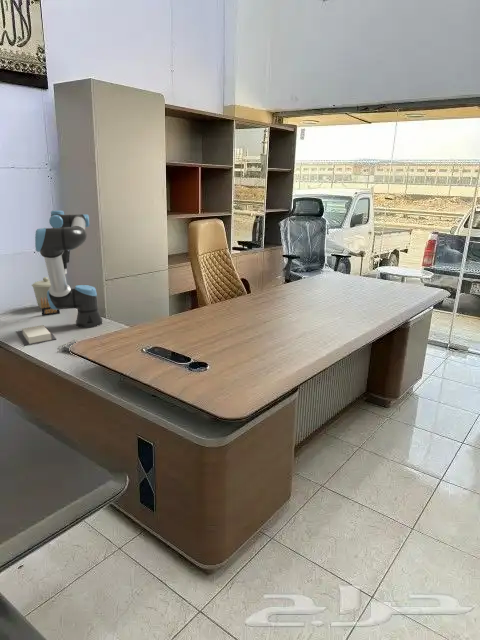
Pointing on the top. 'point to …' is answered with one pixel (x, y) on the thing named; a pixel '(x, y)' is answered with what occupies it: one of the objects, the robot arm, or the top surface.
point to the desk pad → (25, 342)
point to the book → (36, 334)
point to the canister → (41, 290)
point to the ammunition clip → (47, 306)
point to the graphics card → (66, 346)
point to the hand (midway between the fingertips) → (64, 273)
